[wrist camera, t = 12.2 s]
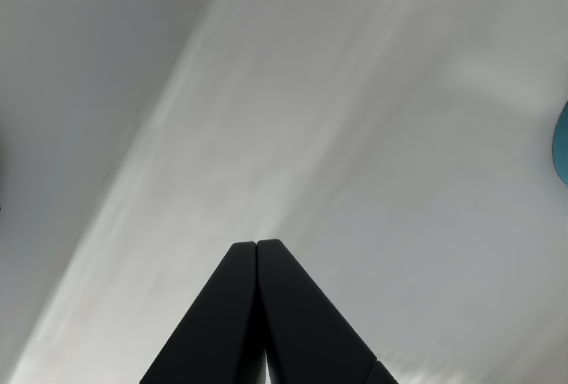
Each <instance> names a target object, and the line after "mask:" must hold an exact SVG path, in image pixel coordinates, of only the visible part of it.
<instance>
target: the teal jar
mask: <svg viewBox="0 0 568 384" xmlns="http://www.w3.org/2000/svg"><path fill="white" fill-rule="evenodd" d="M553 160H554V164H555V168H556V170H557V173H558V175H559V177H560V178H561V180H562V181H563V182H564V183H565V184H566V185H567V186H568V103H567V105H566V106H565V108H564V110H563V112H562V114H561V116H560V119H559V122H558V124H557V127H556V131H555V135H554V140H553Z"/></svg>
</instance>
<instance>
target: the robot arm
mask: <svg viewBox="0 0 568 384" xmlns="http://www.w3.org/2000/svg"><path fill="white" fill-rule="evenodd" d="M0 209H1V208H0ZM266 356H267V364H268V370H269V376H270V381H271V384H399V383H398V382H397V381H396V380H395V379H394V378H393V376H392V375H391V374H390V373H389V371H388V370H387V369H386V368H385V367H384V365H383V364H382V363H381V362H380V361H377V357H376V356H375V355H374V354H373V352H372V351H371V350H370V349H369V347H368V346H367V345H366V344H365V343H364V341H363V340H362V339H361V338H360V337H359V335H358V334H357V333H356V332H355V331H354V329H353V328H352V327H351V326H350V324H349V323H348V322H347V321H346V320H345V318H344V317H343V316H342V315H341V314H340V312H339V311H338V310H337V309H336V307H335V306H334V305H333V304H332V303H331V301H330V300H329V299H328V298H327V297H326V295H325V294H324V293H323V292H322V290H321V289H320V288H319V287H318V286H317V284H316V283H315V282H314V281H313V280H312V278H311V277H310V276H309V275H308V273H307V272H306V271H305V270H304V269H303V267H302V266H301V265H300V264H299V263H298V261H297V260H296V259H295V258H294V256H293V255H292V254H291V253H290V252H289V250H288V249H287V248H286V247H285V246H284V244H283V243H282V242H281V241H280V240H279V239H270V240H260V241H258V242H257V246H256V243H255V242H253V241H250V242H239V243H234V244H233V245H232V246H231V247H230V249H229V250H228V252H227V253H226V255H225V256H224V258H223V259H222V261H221V262H220V264H219V265H218V267H217V268H216V270H215V271H214V273H213V274H212V276H211V277H210V278H209V280H208V281H207V283H206V284H205V286H204V287H203V289H202V290H201V292H200V293H199V295H198V296H197V298H196V299H195V301H194V302H193V304H192V305H191V307H190V308H189V310H188V311H187V313H186V314H185V316H184V317H183V319H182V320H181V321H180V323H179V324H178V326H177V327H176V329H175V330H174V332H173V333H172V335H171V336H170V338H169V339H168V341H167V342H166V344H165V345H164V347H163V348H162V350H161V351H160V353H159V354H158V356H157V357H156V359H155V360H154V362H153V363H152V365H151V366H150V367H149V369H148V370H147V372H146V373H145V375H144V376H143V378H142V379H141V381H140V382H139V384H265V381H266Z"/></svg>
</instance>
